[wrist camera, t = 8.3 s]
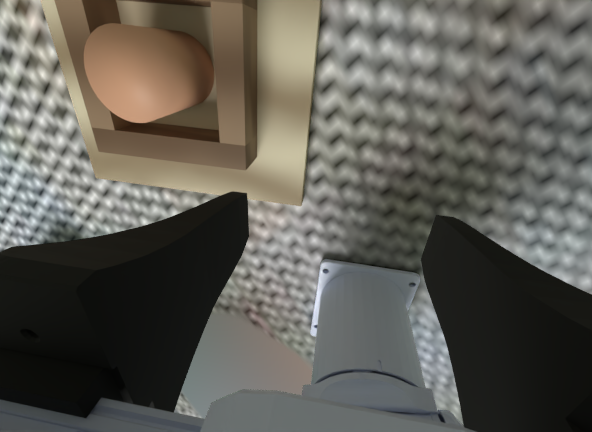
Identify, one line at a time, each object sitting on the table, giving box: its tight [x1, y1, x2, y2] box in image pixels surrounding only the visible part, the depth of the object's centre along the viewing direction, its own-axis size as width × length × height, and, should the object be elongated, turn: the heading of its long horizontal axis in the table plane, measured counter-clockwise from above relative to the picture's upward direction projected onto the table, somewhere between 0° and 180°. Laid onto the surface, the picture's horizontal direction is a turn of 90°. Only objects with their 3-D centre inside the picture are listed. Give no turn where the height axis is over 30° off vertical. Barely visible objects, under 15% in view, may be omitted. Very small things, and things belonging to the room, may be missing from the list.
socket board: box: [41, 0, 322, 206], centre depth 16 cm, size 16×16×4 cm
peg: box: [84, 23, 214, 123], centre depth 15 cm, size 4×4×5 cm
